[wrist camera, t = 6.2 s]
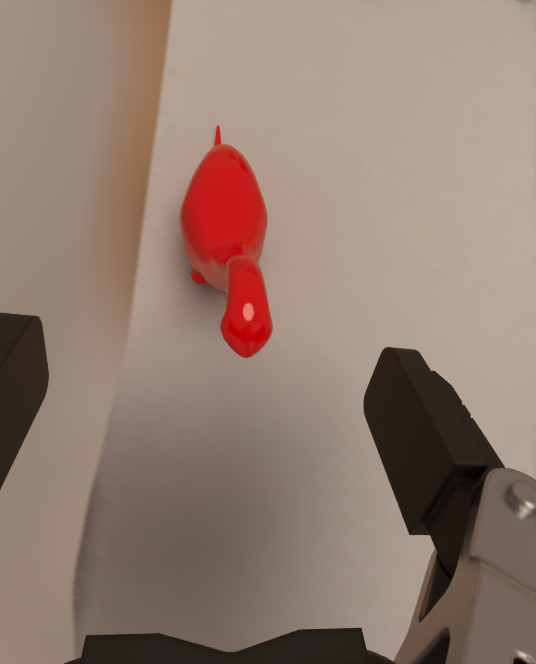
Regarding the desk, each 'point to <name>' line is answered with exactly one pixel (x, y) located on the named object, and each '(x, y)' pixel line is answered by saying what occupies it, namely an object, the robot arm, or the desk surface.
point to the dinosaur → (229, 243)
